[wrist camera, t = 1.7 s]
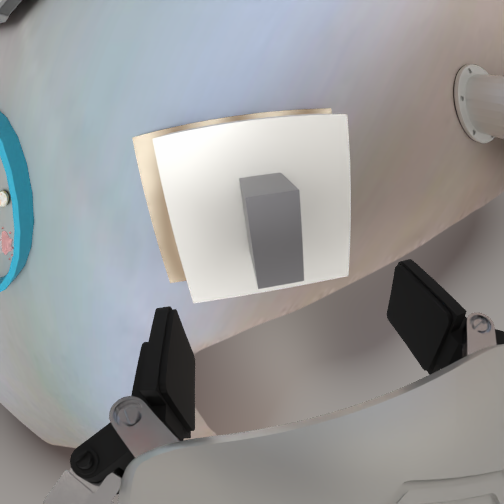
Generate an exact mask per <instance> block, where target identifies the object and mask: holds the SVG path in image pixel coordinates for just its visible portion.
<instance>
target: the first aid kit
mask: <svg viewBox="0 0 504 504" xmlns="http://www.w3.org/2000/svg"><path fill="white" fill-rule="evenodd" d="M21 1H22V0H0V23H3V22H5V21H6V20H7V19H8V18H9V15H10V14H11V12H12V11H13V10H14V9H15V8H16V7H17V5H18V4H19V3H20V2H21Z"/></svg>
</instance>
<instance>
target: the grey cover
mask: <svg viewBox="0 0 504 504" xmlns="http://www.w3.org/2000/svg"><path fill="white" fill-rule="evenodd" d="M152 140H153V145H154V150H155V155H156V160H157V165H158V170H159V174H160V179H161V183H162V188H163V192H164V197H165V201H166V205H167V209H168V213H169V217H170V221H171V225H172V229H173V233H174V237H175V241H176V245H177V248H178V252H179V256H180V259H181V263H182V266H183V270H184V273H185V277H186V280H187V283H188V287H189V290H190V293H191V297H192V300H193V303H199V302H206V301H212V300H219V299H225V298H232V297H238V296H244V295H250V294H256V293H262V292H267V291H273V290H279V289H284V288H290V287H295V286H300V285H306V284H311V283H316V282H321V281H326V280H331V279H336V278H341V277H346V276H348V273H349V255H350V227H351V177H350V149H349V132H348V119H347V114H299V115H285V116H274V117H264V118H255V119H247V120H239V121H232V122H226V123H219V124H213V125H207V126H202V127H197V128H191V129H186V130H182V131H177V132H172V133H169V134H166V135H162V136H159V137H156V138H153V139H152Z"/></svg>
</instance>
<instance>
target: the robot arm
mask: <svg viewBox="0 0 504 504" xmlns="http://www.w3.org/2000/svg"><path fill="white" fill-rule="evenodd" d="M454 99H455V106H456V110H457V114H458V117H459V120H460V123H461V125H462V127H463V129H464V130H465V132H466V133H467V135H468V136H469V137H470V138H471V139H473V140H474V141H477V142H480V143H489V142H490V141H492V140H493V139H494V138H495V137H497V138H501V139H504V76H500V75H489V74H488V73H487V72H486V71H485V70H484V69H483V68H481V67H480V66H478V65H465V66H463V67H462V68H461V69H460V70H459V72H458V74H457V76H456V80H455V86H454ZM465 314H466V310H465V309H464V308H462V307H461V305H460V304H459V303H458V302H456V300H455V299H454V298H453V297H452V296H450V295H449V294H448V293H447V292H446V291H445V290H444V289H443V288H442V287H441V286H440V285H439V284H438V283H437V282H436V281H435V280H434V279H432V278H431V277H430V276H429V275H428V274H427V273H426V272H425V271H424V270H423V269H421V268H420V267H419V266H418V265H417V264H416V263H415V262H414V261H412V260H411V259H409V260H405V261H401V262H399V263H398V265H397V266H396V267H395V272H394V279H393V284H392V290H391V295H390V300H389V306H388V311H387V318H388V320H389V321H390V323H391V324H392V326H393V327H394V328H395V330H396V331H397V332H398V334H399V335H400V336H401V338H402V339H403V341H404V342H405V343H406V344H407V346H408V348H409V349H410V351H411V352H412V353H413V355H414V356H415V358H416V359H417V361H418V362H419V363H420V365H421V367H422V368H423V369H424V370H427V371H428V373H429V374H430V375H429V376H426V377H424V378H422V379H420V380H418V381H416V382H413V383H411V384H409V385H407V386H404V387H402V388H400V389H397V390H395V391H392V392H390V393H387V394H385V395H382V396H379V397H377V398H374V399H371V400H369V401H366V402H363V403H360V404H357V405H354V406H351V407H348V408H345V409H342V410H338V411H335V412H332V413H328V414H325V415H321V416H317V417H314V418H310V419H306V420H302V421H298V422H293V423H289V424H284V425H279V426H274V427H269V428H264V429H258V430H253V431H247V432H240V433H234V434H227V435H219V436H211V437H204V438H196V439H190V440H184V441H183V438H191V431H194V430H195V358H194V354H193V352H192V349H191V347H190V344H189V342H188V339H187V336H186V334H185V331H184V329H183V326H182V323H181V321H180V318H179V315H178V313H177V310H176V309H174V310H172V308H171V307H170V306H169V307H163V308H157V309H156V311H155V315H154V320H153V324H152V329H151V333H150V338H149V342H144V343H143V344H142V347H141V351H140V356H139V360H138V365H137V370H136V375H135V380H134V385H133V391H132V396H128V397H123V398H121V399H119V400H118V401H117V402H115V403H114V404H113V406H112V408H111V410H110V413H109V419H110V423H109V424H108V425H106V426H105V427H104V428H103V429H101V430H100V431H99V432H97V433H96V434H95V435H93V436H92V437H91V438H89V439H88V440H87V441H85V442H84V443H83V444H81V445H80V446H79V447H77V448H76V449H75V450H74V452H73V453H72V455H71V459H70V463H71V469H70V471H67V470H65V472H64V473H63V474H62V476H61V477H60V479H59V480H58V481H57V483H56V484H55V486H54V487H53V488H52V490H51V491H50V492H49V494H48V495H47V497H46V498H45V500H44V502H43V504H113V502H112V500H113V498H114V497H115V495H116V494H119V498H118V504H504V332H503V331H500V330H496V329H495V327H494V324H493V321H492V320H491V319H490V318H489V317H488V316H486V315H485V314H482V313H472V314H470V315H469V316H468V317H467V318H466V317H465ZM440 369H441V370H440Z"/></svg>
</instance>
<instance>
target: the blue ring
mask: <svg viewBox="0 0 504 504" xmlns="http://www.w3.org/2000/svg"><path fill="white" fill-rule="evenodd" d="M0 156H1V160H2V163H3V166H4V168H5V171H6V175H7V180H8V185H9V190H10V195H11V200H12V208H13V219H14V229H15V232H14V247H11V243H12V239H11V238H9V236H8V234H7V232H6V231H3V232H2V234H1V235H0V236H1V238H2V239H0V241H1V240H2V241H1V244H2V245H1V247H2V248H1V249H2V250H1V251H2V252H3V253H4V254H6V255H7V253H8V252H9V251H12V249H14V254H12V255H11V256H13V258H12V262H11V265H10V270H9V272H8V274H7V275H6V276H4V277H2V278H0V292H1V291H3V290H5V289H6V288H7V287H8V286H9V285H10V284H11V282H12V281H13V280H14V279H15V278H16V277H17V275H18V274H19V273H20V271H21V270H22V269H23V267H24V266H25V264H26V261H27V258H28V255H29V252H30V249H31V245H32V234H33V225H34V216H33V196H32V189H31V184H30V179H29V173H28V167H27V163H26V160H25V157H24V154H23V151H22V148H21V145H20V142H19V139H18V136H17V135H16V133H15V131H14V130H13V128H12V126H11V124H10V122H9V121H8V119H7V117H6V116H5V115H4V114H3V113H1V112H0ZM8 201H9V195H8V193H7V192H6V191H0V206H2V207H5V206H6V205H7V204H8ZM2 229H3V227H2ZM9 233H10V234H11V232H9ZM9 239H10V240H9ZM2 252H1V253H2ZM9 260H10V258H9Z"/></svg>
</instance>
